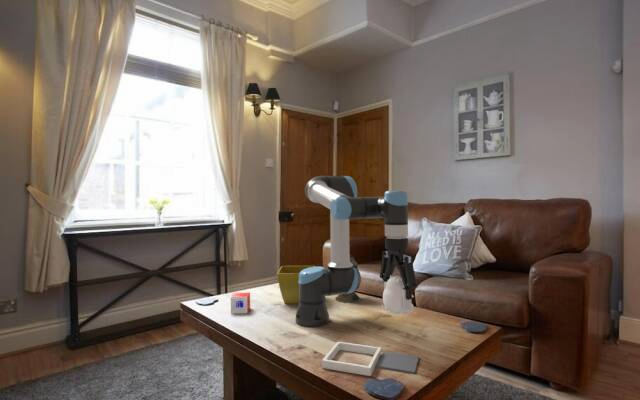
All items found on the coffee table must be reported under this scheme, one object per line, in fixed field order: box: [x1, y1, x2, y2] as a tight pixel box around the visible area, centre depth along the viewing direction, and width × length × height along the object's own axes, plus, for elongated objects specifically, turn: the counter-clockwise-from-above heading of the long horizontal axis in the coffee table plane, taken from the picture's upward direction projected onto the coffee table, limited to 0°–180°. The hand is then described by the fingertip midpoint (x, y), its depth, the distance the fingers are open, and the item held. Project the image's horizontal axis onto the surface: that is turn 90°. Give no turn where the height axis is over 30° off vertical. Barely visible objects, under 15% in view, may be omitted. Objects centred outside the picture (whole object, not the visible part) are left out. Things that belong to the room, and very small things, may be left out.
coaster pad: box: [375, 350, 420, 375], centre depth 120 cm, size 12×12×1 cm
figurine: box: [381, 274, 414, 315], centre depth 120 cm, size 10×10×12 cm
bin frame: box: [321, 341, 382, 377], centre depth 121 cm, size 16×16×2 cm
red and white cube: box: [230, 292, 251, 314], centre depth 178 cm, size 8×8×8 cm
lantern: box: [334, 252, 362, 304], centre depth 195 cm, size 14×14×25 cm
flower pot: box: [276, 265, 316, 304], centre depth 194 cm, size 19×19×17 cm
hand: (397, 304), depth 120 cm, fingers closed on figurine, 10 cm apart
